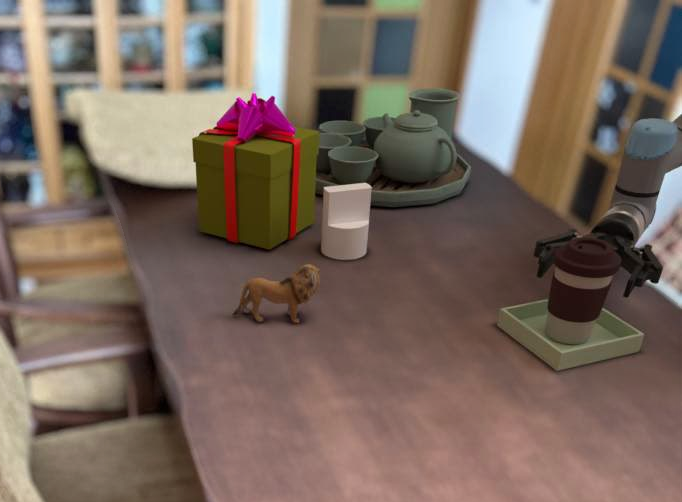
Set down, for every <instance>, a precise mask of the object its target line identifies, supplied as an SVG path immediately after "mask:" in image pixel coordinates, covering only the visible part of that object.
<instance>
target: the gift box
mask: <svg viewBox="0 0 682 502" xmlns="http://www.w3.org/2000/svg"><path fill="white" fill-rule="evenodd" d="M275 101H276V96H274V95H271V96H270V97H269V98H268V99H267V100H265V99H264V98H261V97H258V96H257V93H256V92H252V94H251V97H250V99H249V100H247V102H246V101H245V100H243V99H242V98H241V97H240V96H237V97H236V98H235V101H234V103H233V104H232V105H231V106H230V107H229V108H228V109H227V110H226V111H225V113H224V114H223V115H222V116H221V117H220V118H219V119H218V121H217V122H216V124H215V125H216V126H214V127H213V128H209V129H206V130H204V131H201V132H199V134H198V135H197V136H195V137H193V138H192V139H191V143H192V159H193V160H192V161H193V163H195V179H196V181H195V182H196V198H197V217H198V218H197V219H198V231H199V232H201V233H204V234H209V235H212V236H216V237H220V238H224V239H227V241H228V242H232V243H235V244H241V243H243V244H246V245H250V246H253V247H258V248H262V249H265V250H272V249H273V248H275V247H277V246H279V245H280V244H282V243H283V242H285V241H290V240H291V239H293V238H295V237H296V235H297V234H298V233H299V232H301V231H302V230H304V229H306V228H308V227H309V226H310V225H312V224H314V223H315V207H316V205H315V204H316V192H315V182H316V156H317V155H318V154H319V133H320V130H315V129H309V128H304V127H299V126H294V125H293V124H292V123H291V122H290V120H289V119H288V118H287V117H286V116H285V114H284V113H283V111H282V110H281V109H280V108H279V106H278V105H277V104H276V103H275Z"/></svg>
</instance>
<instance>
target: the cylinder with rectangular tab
mask: <svg viewBox="0 0 682 502" xmlns="http://www.w3.org/2000/svg"><path fill="white" fill-rule="evenodd" d="M371 190H372V187H371V186H370V185H369V184H367V183H358V184H349V185H339V186H330V187H324V195H322V196H323V197H322V198H323V199H322V219H321V240H320V241H321V242H320V252H321V253H322V254H323V255H324V256H325V257H328V258H329V259H334V260H342V261H349V260H350V261H351V260H357V259H361V258H362V257H364V256H365V255H366V254H367V252H368V251H367V249H368V240H369V239H368V237H369V228H370V227H369V226H370V215H371V213H370V212H371V205H370V202H371Z"/></svg>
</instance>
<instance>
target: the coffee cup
mask: <svg viewBox="0 0 682 502" xmlns="http://www.w3.org/2000/svg"><path fill="white" fill-rule="evenodd" d="M553 265H554V266H555V267H554V271H553V273H552V276H551V282H550V288H549V294H548V299H549V300H548V305H547V309H548V314H547V319H546V325H545V333H546V335H547V336H548V337H549V338H551V339H552V340H554V341H557V342H560V343H564V344H581V343H584V342H586V341H587V340H588V339H589V338H590V336H591V333H592V331H593V328H594V325H595V322H596V320H597V318H598V317H599V315H600V313H601V310H602V308H604V305H605V302H606V299H607V297H608V294H609V291H610V288H611V285H612V282H613V281H612V278H613V276H614V275H616V274H618V272H619V271H620V269H621V267H620V265H621V257H620V256H619V255H618V254H617V253H616V252H614V248H613V246H612V245H611V244H610V243H608V242H606V241H604V240H600V239H596V238H590V237H579V238H574V239H571V240H570V241H569V242H568V243H567V244H566V245H562V246H560V247H558V248H557V249H556V250H555V253H554V257H553Z"/></svg>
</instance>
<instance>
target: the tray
mask: <svg viewBox="0 0 682 502" xmlns="http://www.w3.org/2000/svg"><path fill="white" fill-rule="evenodd" d="M548 300H549V298H547V299H542V300H535V301H532V302H527V303H522V304H516V305H511V306H506V307H501V308H500V309H499V313H498V319H497V324H496V326H497V327H498V328H499V329H501V330H502V331H503V332H504V333H506V334H507V335H509V336H510V337H511V338H513V340H515V341H517V342H518V343H519V344H521V345H522V346H523V347H524V348H526V349H527V350H528V351H530V352H531V353H532V354H534V355H535V356H536V357H538V358H539V359H540V360H542V361H543V362H544V363H546V365H548V366H549V367H551V368H552V369H553V370H554V371H556V372H558V371H563V370H567V369H570V368H571V369H572V368H575V367H579V366H585V365H589V364H593V363H597V362H601V361H605V360H610V359H615V358H618V357H622V356H627V355H630V354H631V355H632V354H635V353H639V352H640V350H641V347H642V344H643V342H644V341H643V340H644V337H645V336H646V335H645V334H644V332H642V331H640V330H638V329H637V328H635V327H634V326H632V325H631V324H629V323H628V322H626V321H625V320H623V319H621V318H620V317H618V316H617V315H615V314H613V313H612V312H610V311H609V310H607V309H605V308H604V307H602V310H601V313H600V315H599V317H598V318H597V320H596V322H595V325H594V328H593V331H592V333H591V336H590V338H589V339H588V340H587V341H586V342H584V343H581V344H564V343H560V342H557V341H554V340H552V339H551V338H549V337H548V336H547V335H546V333H545V325H546V319H547V314H548V309H547V305H548Z"/></svg>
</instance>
